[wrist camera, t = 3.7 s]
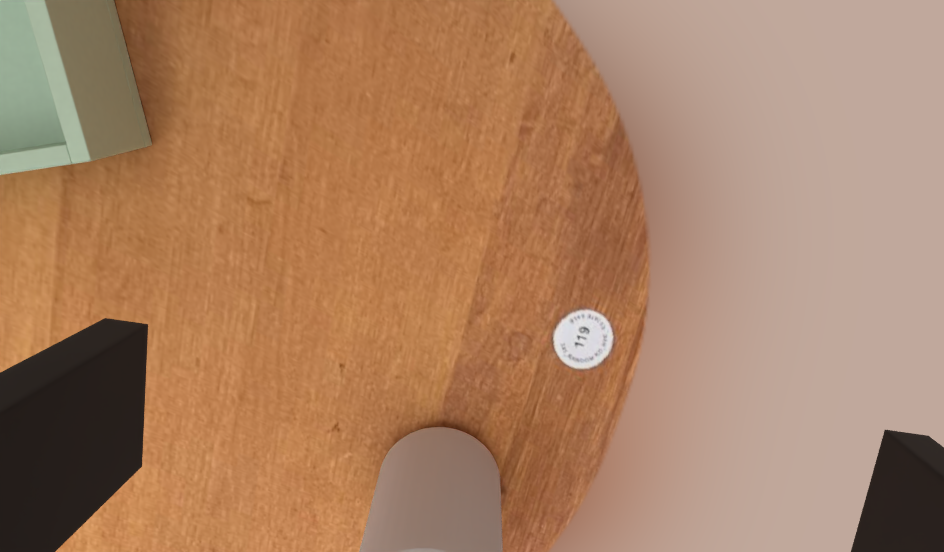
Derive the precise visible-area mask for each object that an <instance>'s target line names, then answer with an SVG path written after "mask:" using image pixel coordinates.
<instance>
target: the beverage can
mask: <svg viewBox="0 0 944 552" xmlns="http://www.w3.org/2000/svg"><path fill="white" fill-rule="evenodd" d="M359 552H503V545H502V517H501V488H500V474H499V470H498V466H497V464H496V461H495V459H494V457H493V456H492V454H491V453H490V451H489V450H488V449H487V448H486V447H485V446H484V445H483V444H482V443H481V442H480V441H479V440H477V439H476V438H474V437H473V436H471V435H469V434H467V433H465V432H463V431H460V430H457V429H453V428H447V427H430V428H424V429H420V430H417V431H415V432H412V433H410V434H408V435H406V436H405V437H403V438H402V439H400V440H399V441H398V442H397V443H396V444H395V445H394V446H393V447H392V448H391V449H390V450H389V452H388V453H387V455H386V456H385V458H384V460H383V463H382V465H381V469H380V473H379V476H378V480H377V484H376V488H375V492H374V496H373V500H372V504H371V508H370V512H369V516H368V520H367V523H366V527H365V531H364V535H363V539H362V543H361V547H360V551H359Z"/></svg>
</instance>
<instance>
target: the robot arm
mask: <svg viewBox="0 0 944 552" xmlns="http://www.w3.org/2000/svg"><path fill="white" fill-rule="evenodd" d="M147 335H148V324H142V323H135V322H128V321H121V320H114V319H107V318H105V319H103V320H101V321H99V322H97V323H95V324H93V325H91V326H89V327H88V328H86V329H84V330H82V331H80V332H78V333H76V334H74V335H72V336H70V337H68V338H66V339H64V340H62V341H61V342H59V343H57V344H55V345H53V346H51V347H49V348H47V349H45V350H43V351H41V352H39V353H37V354H36V355H34V356H32V357H30V358H28V359H26V360H24V361H22V362H20V363H18V364H16V365H14V366H12V367H10V368H9V369H7V370H5V371H3V372H1V373H0V552H55V551H56V550H57V549H58V548H59V547H60V546H61V545H62V544H63V543H64V542H65V541H66V540H67V539H69V538H70V537H71V536H72V535H73V534H74V533H75V532H76V531H77V530H78V529H79V528H80V527H81V526H82V525H83V524H84V523H85V522H86V521H87V520H88V519H89V518H90V517H91V516H92V515H93V514H94V513H95V512H96V511H97V510H98V509H99V508H100V507H101V506H102V505H103V504H104V503H105V502H106V501H107V500H108V499H109V498H110V497H111V496H112V495H113V494H114V493H115V492H116V491H117V490H118V489H119V488H120V487H121V486H122V485H123V484H124V483H125V482H126V481H127V480H128V479H129V478H130V477H131V476H132V475H134V474H135V473H136V472H137V471H138V470H139V469H140V468H141V467H142V452H143V428H144V405H145V382H146V358H147ZM851 552H944V447H942V446H941V445H940V444H938V443H937V442H936V441H934V440H933V439H932V438H930V437H929V436H925V435H918V434H911V433H904V432H897V431H890V430H885V431H884V435H883V439H882V442H881V446H880V449H879V453H878V457H877V460H876V464H875V467H874V471H873V475H872V478H871V482H870V486H869V489H868V492H867V496H866V500H865V503H864V507H863V511H862V514H861V518H860V521H859V525H858V528H857V532H856V536H855V539H854V543H853V547H852V550H851Z"/></svg>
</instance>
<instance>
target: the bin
mask: <svg viewBox="0 0 944 552" xmlns="http://www.w3.org/2000/svg"><path fill="white" fill-rule="evenodd" d="M148 146H152V142H151V138H150V134H149V131H148V127H147V123H146V119H145V115H144V112H143V108H142V104H141V100H140V97H139V93H138V89H137V85H136V81H135V78H134V74H133V70H132V66H131V63H130V59H129V55H128V51H127V47H126V44H125V40H124V36H123V32H122V29H121V25H120V21H119V17H118V13H117V10H116V6H115V2H114V0H0V175H4V174H11V173H17V172H24V171H30V170H37V169H44V168H50V167H57V166H64V165H70V164H77V163H84V162H90V161H94V160H98V159H102V158H106V157H110V156H113V155H117V154H121V153H125V152H129V151H133V150H137V149H140V148H144V147H148Z"/></svg>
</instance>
